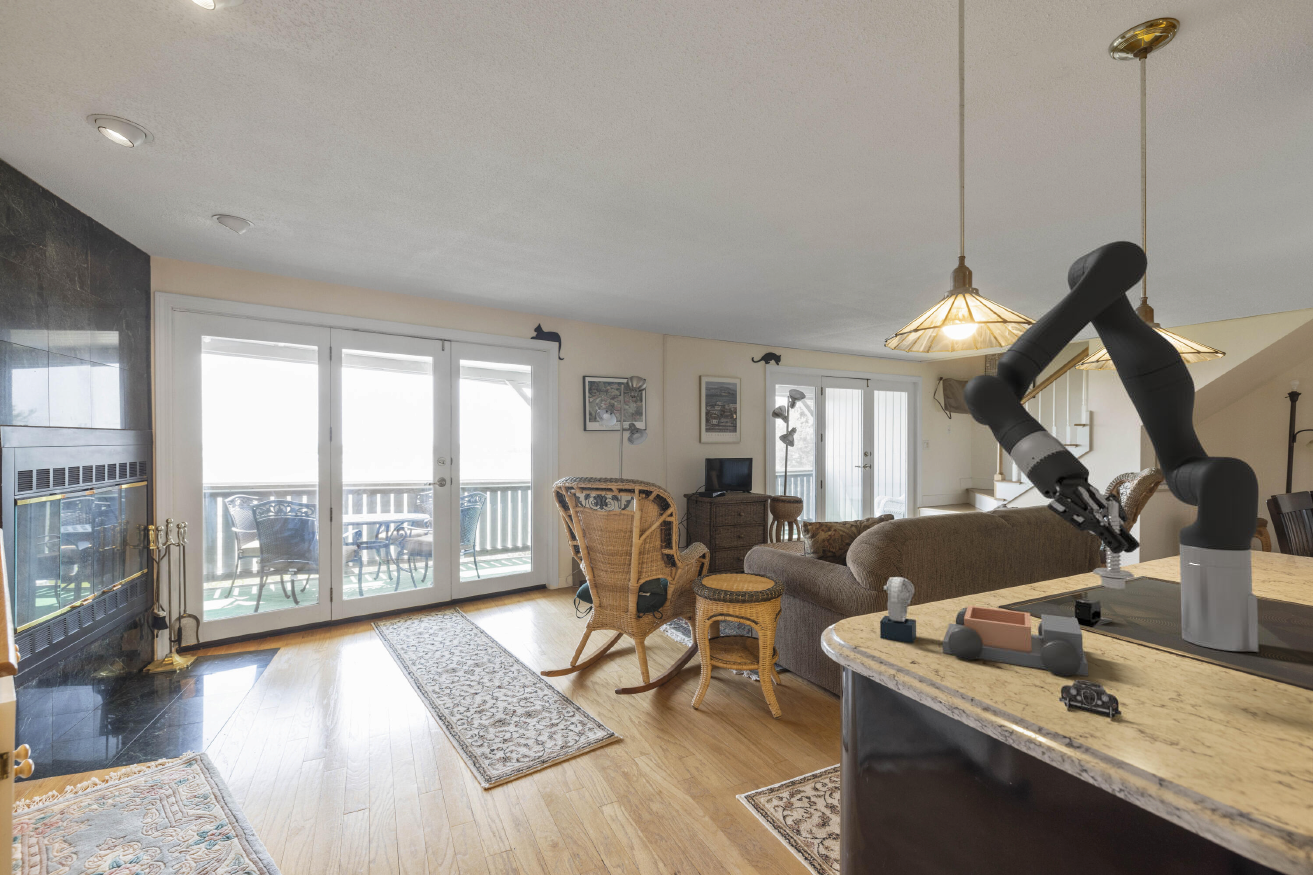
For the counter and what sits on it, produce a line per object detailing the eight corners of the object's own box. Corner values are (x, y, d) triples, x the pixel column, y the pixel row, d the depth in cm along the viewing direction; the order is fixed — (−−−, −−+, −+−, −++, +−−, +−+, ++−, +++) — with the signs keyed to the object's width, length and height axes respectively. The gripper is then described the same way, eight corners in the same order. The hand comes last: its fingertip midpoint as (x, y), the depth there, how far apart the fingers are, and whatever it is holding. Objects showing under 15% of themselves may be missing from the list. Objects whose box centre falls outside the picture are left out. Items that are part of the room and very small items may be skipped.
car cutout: (1055, 717, 77) (1054, 683, 77) (1060, 700, 82) (1060, 668, 82) (1212, 755, 67) (1211, 715, 67) (1207, 733, 72) (1206, 696, 72)
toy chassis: (1079, 649, 101) (1078, 614, 101) (1089, 680, 87) (1088, 640, 87) (950, 630, 111) (950, 599, 111) (941, 656, 98) (941, 620, 98)
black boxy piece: (1083, 615, 124) (1083, 593, 124) (1124, 623, 118) (1124, 600, 118) (1053, 623, 118) (1053, 600, 118) (1094, 633, 111) (1094, 608, 111)
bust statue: (917, 633, 110) (916, 575, 110) (910, 645, 103) (910, 583, 103) (886, 628, 113) (885, 572, 113) (877, 640, 106) (876, 580, 106)
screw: (1085, 583, 89) (1108, 582, 90) (1118, 591, 84) (1142, 589, 86) (1084, 499, 89) (1108, 498, 91) (1117, 501, 85) (1141, 501, 86)
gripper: (1032, 448, 93) (1114, 536, 81) (1093, 448, 97) (1180, 532, 85) (1002, 479, 98) (1076, 567, 86) (1062, 478, 102) (1140, 561, 90)
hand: (1127, 549), depth 85 cm, fingers closed on screw, 2 cm apart
